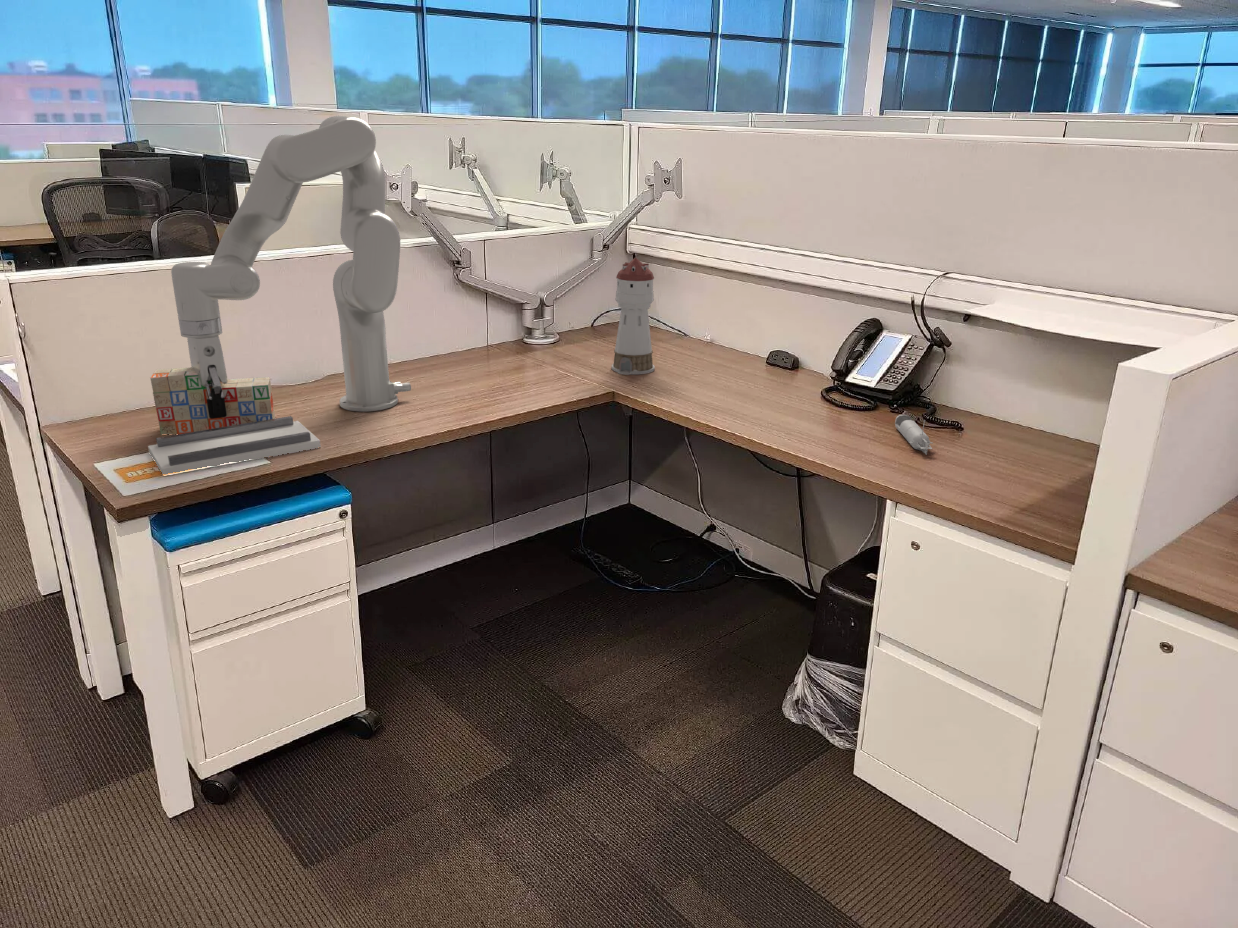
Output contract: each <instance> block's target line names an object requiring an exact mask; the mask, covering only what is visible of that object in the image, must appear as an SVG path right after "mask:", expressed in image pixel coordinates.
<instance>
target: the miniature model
mask: <svg viewBox="0 0 1238 928" xmlns="http://www.w3.org/2000/svg"><path fill="white" fill-rule="evenodd" d="M634 255H635V257H634V258H633V259H632V260H631V261H629V262H625V263H623V264H622V268H621V269H620V270H619V271H618V272H617V275H616V276H615V278H616V292H615V301H616V303H617V305H618V306H617V307H618V308H620V315H619V321H618V328H617V334H616V339H615V340H616V341H615V347H614V349H613V354H614V356H613V357H614V358H613V363H612V364H611V370H612V371H614V372H615V373H617V374H618V375H624V376H625V375H626V376H630V375H645V374H651V373H653V372H654V371H655V368H656V367H655V365H654V364H653V353H654V350H653V348H652V340H651V339H652V337H651V330H650V319H649V318H650V317H649V311H648V310H649V309H650V308H651V304H652V303H653V302H654V300H655V299H654V279H655V277H654V274H653V272H652V271H651V270H650V269H649V268H650V267H649V263H643V262H642V261H640V259H638V258H637V253H635V254H634Z"/></svg>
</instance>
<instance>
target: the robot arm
mask: <svg viewBox="0 0 1238 928" xmlns="http://www.w3.org/2000/svg"><path fill="white" fill-rule="evenodd" d="M376 146H377V139H376V135H375V132H374V129H373V128H372V127H371V126H370V125H369V123H368V122H366V121H365V120H363V119H361V118H359V117H356V116H355V117H354V116H344V115H333V116H329V117H327V118H325V119H324V120H323V121H322V122H321V123H320V125H319V127H318V128H316V129H313V130H310V131H307V132H306V131H305V132H304V133H299V134H295V135H293V134H280V135H277V136H275V137H273V138H271V140H269V142H268V144H267V145H266V148H265V149H264V151H263V154H262V156H261V159H260V160H259V163H258V166H257V168H256V170H255V173H254V175H253V178H252V180H251V182H250V184H249V187H248V189H247V191H246V193H245V195H244V198H243V200H242V202H241V203H240V205H239V207H238V209H237V211H236V212H235V213H234V216H233V217H232V219H231V220H230V222H229V224H228V226H227V227H226V229H225V231H224V232H223V234H222V236H221V238H220V241H219V243H218V246H217V248H216V250H215V253H214V255H213V257H212V260H211V262H210V263H206V262H203V261H185V262H178V263H176V264H174V265H173V266H172V267H171V270H170V274H171V280H172V281H171V282H172V286H173V294H174V299H175V306H176V311H177V318H178V326H179V331H180V336H181V337H183V338H186V339H187V346H188V353H189V359H190V366H191V367H192V369H193V370H194V371H195V372H196V373H197V374H198V377H199V381H200V384H201V385H202V386H204V387H205V388H206V392H207V396H208V399H207V406H208V412H209V417H210V418H211V419H214V418H221V417H226V416H227V413H226V406H225V399H224V395H223V391H222V387H221V383H220V381H221V382H222V383H224V384H227V382H228V379H229V378H228V374H227V369H226V363H225V357H224V353H223V352H224V351H223V347H222V344H221V339H220V337H219V335H222V334H223V328H222V321H221V320H222V319H221V312H220V306H219V300H224V301H245V300H249V299H251V298H253V297H254V296H255V295H256V294H257V293H258V292H259V289H260V286H261V279H260V276H259V274H258V272H257V270H256V269H255V268H254V267H253V266H254V263H255V261H256V259H257V256H258V254H259V253H260V250H261V249H262V247H263V245H264V244H265V243H266V242H267V240H268V239H269V238H270V237H271V236H272V235H274V234H275V233H277V232H278V231H279V230H280V229H282V228H283V226H284V225H286V223H287V220H288V218H289V217H290V213H291V211H292V209H293V206H294V204H295V202H296V200H297V197H298V195H299V192H300V190H301V188H302V186H303V184H304V183H309V182H312V181H316V180H319V179H321V178H322V179H323V178H325V177H327V176H332V175H333V174H336V173H338V172H341V178H342V205H341V219H340V231H339V233H340V238H341V240H342V241H341V242H342V243H343V245H344V246H345V247H346V248H347V249H349V250H350V251H351V252H353V253H352V259H350V260H346V261H344V262H343V263H341V264H340V265H339V266H338V267H337V268H336V270H335V272H334V274H333V279H332V290H333V297H334V301H335V304H336V308H337V316H338V323H339V331H340V332H339V334H340V344H341V355H342V365H343V374H344V376H343V377H344V383H345V384H344V386H345V387H344V388H345V395H343V396H342V397H340V398H339V406H340V407H341V408H342V409H344V410H347V411H351V412H364V413H365V412H376V411H377V412H378V411H382V410H387V409H390V408H393V407H394V406H396V405H397V404H398V402H399V397H398V394H399V393H400V392H402V393H403V392H410V391H411V390H412V385H411V382H403V383H401V381H397V382H392V381H390V373H389V361H388V360H389V359H388V346H387V332H386V331H387V330H386V322H385V315H384V311H386V310H388V308H390V307H391V305H392V303H393V302H394V300H395V299H396V296H397V291H398V282H399V271H400V269H399V268H400V257H401V256H400V255H401V254H400V253H401V236H400V231H399V228H398V226H397V225H396V223H395V221H394V220H393V218H391V217H390V216H389V215H387V214H386V176H385V175H386V174H385V169H384V166H383V163H382V161H381V159H380V156H379V154H378V153H377V151H376ZM208 372H209V374H208ZM219 378H220V379H219ZM208 381H212V383H210V384H208V383H207V382H208ZM210 388H212V389H211V392H210Z"/></svg>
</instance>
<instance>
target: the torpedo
mask: <svg viewBox="0 0 1238 928" xmlns="http://www.w3.org/2000/svg"><path fill="white" fill-rule="evenodd" d="M894 420H895V422H894V425H895V428H896V429H897V431H898V432H900V434H901V435H902V437H903V438H904V439H905V440H906V441H907V442H908V443H909V444H910V446H911V447H912V448H913V449H915V450H917V451H922V453H923V454H925V455H928V450H933V448H932V445H930V444H934V442H932V441H931V440H930V437H929V435H927V434H926V432H924V429H925V428H924V427H925V424H923V426H922V428H921V427H920V426H919V425H918V424H917V423H916V421H915V420H912V417H910V415H907V414H899V415H897V416H896V418H895V419H894ZM925 422H926V420H925V419H923V423H925Z"/></svg>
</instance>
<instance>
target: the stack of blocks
mask: <svg viewBox="0 0 1238 928" xmlns="http://www.w3.org/2000/svg"><path fill="white" fill-rule="evenodd" d="M208 374H209V372H208ZM219 379H220V378H219ZM227 379H228V382H227V384H224V383H222V382H221V381H220V383H221V387H222V391H223V395H224V399H225V406H226V413H227V416H226V417H221V418H214V419H211V418H210V417H209V412H208V406H207V399H208V396H207V392H206V388H205V387H204V386H202V385H201V384H200V381H199V377H198V374H197V373H196V372H195V371H194V370H193V369H192V367H181V368H180V367H179V368H162V369H161V368H159V369H158V368H157V369H155V371H154V372H153V373H152V375H151V377H150V384H151V388H152V396H153V401H154V406H155V410H156V415H157V421H158V426H159V431H160V436H161V435H162V434H184V433H190V432H196V431H203V430H209V429H215V428H221V427H227V426H233V425H239V424H245V423H252V422H258V421H264V420H270V419H276V413H275V407H274V399H273V391H272V390H273V389H272V384H271V383H272V382H271V377H269V376H265V377H249V378H247V377H246V378H244V377H243V378H231V379H229V378H227ZM207 383H208V384H210V383H212V381H208V382H207ZM211 389H212V388H210V392H211Z"/></svg>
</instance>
